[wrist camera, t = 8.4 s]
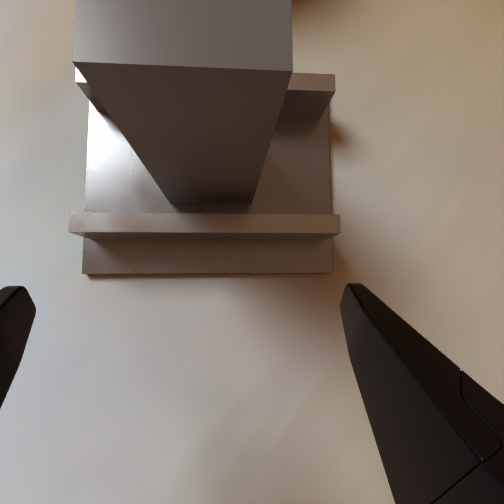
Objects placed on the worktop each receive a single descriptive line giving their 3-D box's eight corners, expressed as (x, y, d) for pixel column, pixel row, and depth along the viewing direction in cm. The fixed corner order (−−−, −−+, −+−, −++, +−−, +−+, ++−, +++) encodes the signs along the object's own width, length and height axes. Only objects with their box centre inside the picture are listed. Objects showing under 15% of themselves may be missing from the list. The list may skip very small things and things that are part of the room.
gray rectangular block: (251, 204, 21) (292, 71, 8) (169, 203, 20) (72, 61, 8) (251, 129, 21) (289, -112, 8) (171, 126, 21) (82, -130, 8)
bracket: (330, 272, 21) (350, 270, 18) (85, 274, 20) (56, 271, 17) (324, 79, 23) (342, 41, 19) (94, 70, 21) (68, 28, 18)
